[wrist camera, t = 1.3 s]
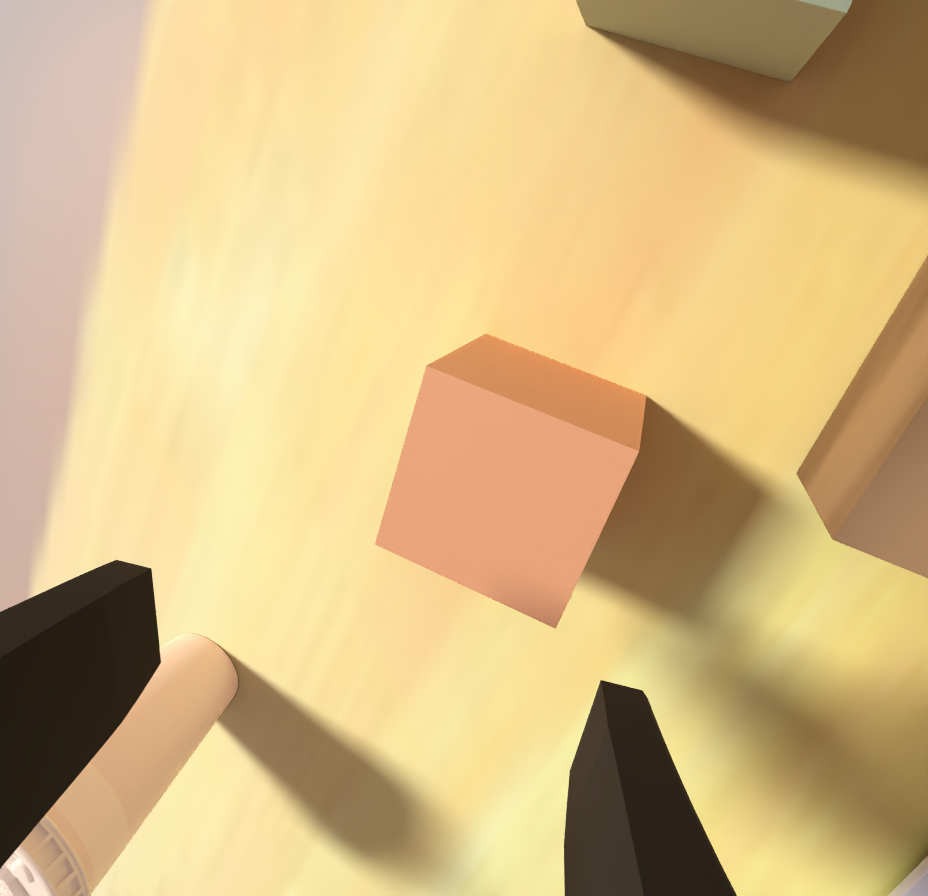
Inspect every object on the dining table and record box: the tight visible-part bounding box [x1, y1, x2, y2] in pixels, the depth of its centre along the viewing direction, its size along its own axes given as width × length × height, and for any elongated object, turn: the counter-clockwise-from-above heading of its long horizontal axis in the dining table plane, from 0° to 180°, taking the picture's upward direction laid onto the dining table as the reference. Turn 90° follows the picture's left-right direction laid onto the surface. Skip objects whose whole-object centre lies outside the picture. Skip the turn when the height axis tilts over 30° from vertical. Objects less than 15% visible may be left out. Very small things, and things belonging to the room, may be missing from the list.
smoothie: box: [0, 633, 238, 896], centre depth 20 cm, size 6×6×14 cm
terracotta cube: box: [375, 334, 647, 628], centre depth 16 cm, size 5×5×5 cm
